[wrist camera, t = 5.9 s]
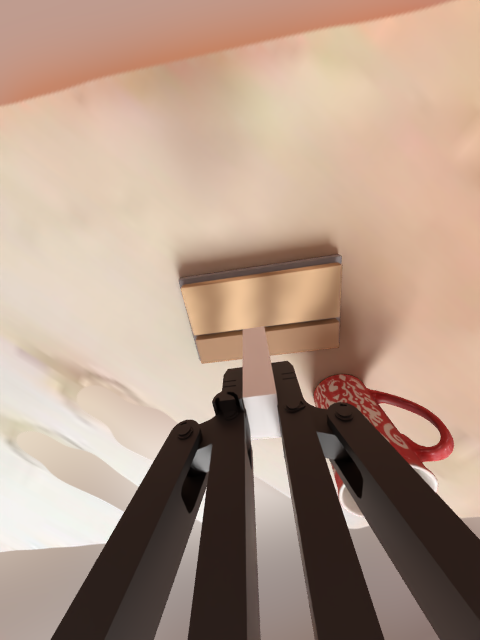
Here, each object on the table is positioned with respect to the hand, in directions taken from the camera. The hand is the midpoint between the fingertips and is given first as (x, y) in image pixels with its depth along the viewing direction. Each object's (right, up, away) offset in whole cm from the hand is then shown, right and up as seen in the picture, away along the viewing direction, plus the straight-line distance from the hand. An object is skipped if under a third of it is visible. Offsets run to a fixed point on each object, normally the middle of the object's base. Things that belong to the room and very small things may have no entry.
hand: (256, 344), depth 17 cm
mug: (+15, -8, +18) cm, 24 cm away
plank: (+1, +4, +11) cm, 12 cm away
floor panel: (+2, +3, +13) cm, 13 cm away
